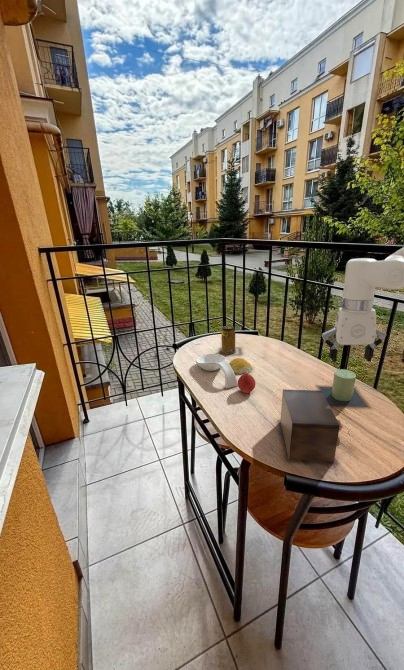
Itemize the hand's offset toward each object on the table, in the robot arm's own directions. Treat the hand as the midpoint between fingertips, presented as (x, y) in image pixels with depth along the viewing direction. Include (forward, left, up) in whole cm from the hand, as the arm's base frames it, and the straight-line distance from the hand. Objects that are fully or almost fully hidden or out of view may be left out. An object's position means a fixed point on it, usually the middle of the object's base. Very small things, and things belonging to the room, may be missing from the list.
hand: (350, 359), depth 84 cm
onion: (+31, -1, -14) cm, 34 cm away
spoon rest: (+41, -14, -14) cm, 46 cm away
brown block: (+17, +21, -14) cm, 30 cm away
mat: (+1, 0, -14) cm, 13 cm away
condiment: (+37, -34, -14) cm, 52 cm away
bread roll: (+33, -18, -14) cm, 40 cm away
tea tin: (+1, 0, -13) cm, 13 cm away
